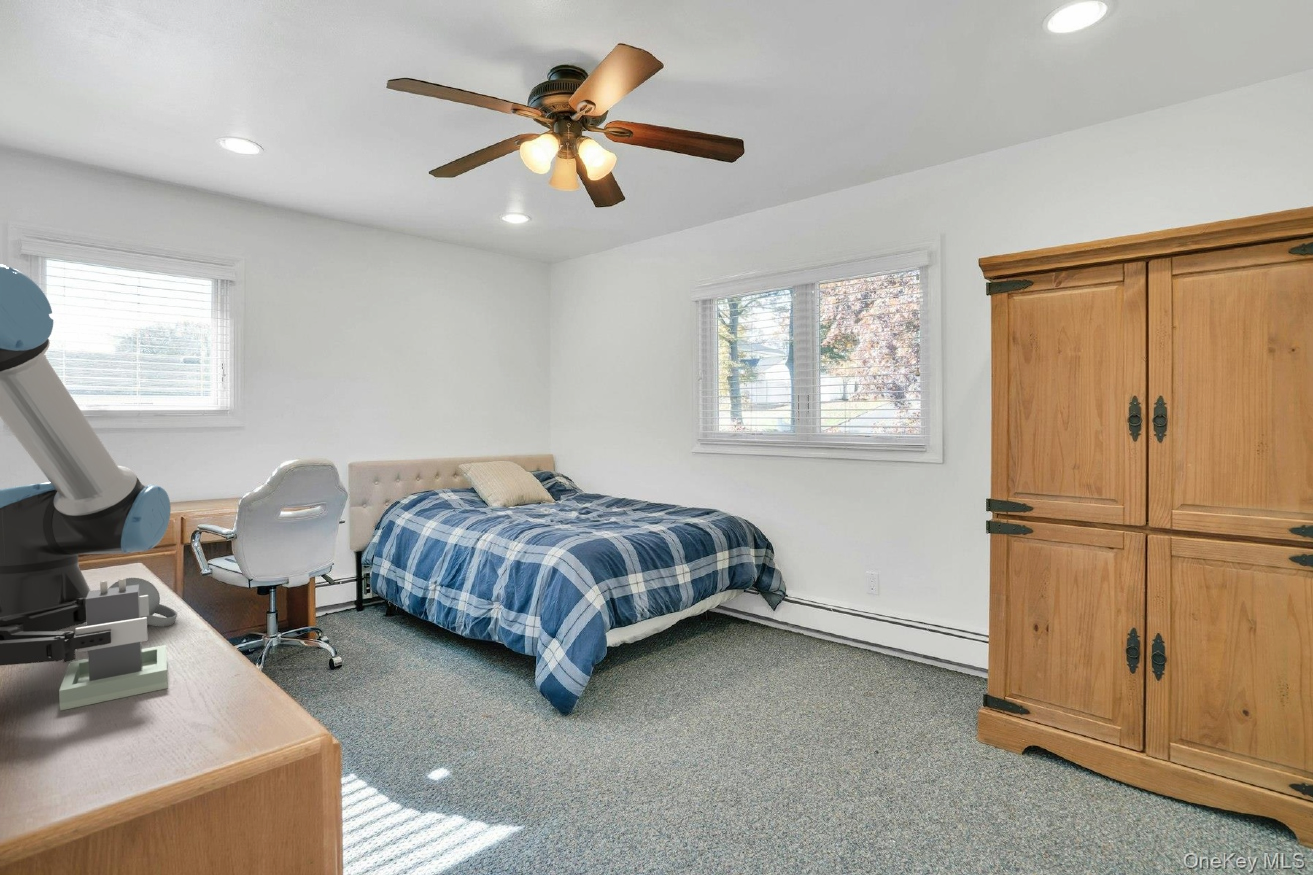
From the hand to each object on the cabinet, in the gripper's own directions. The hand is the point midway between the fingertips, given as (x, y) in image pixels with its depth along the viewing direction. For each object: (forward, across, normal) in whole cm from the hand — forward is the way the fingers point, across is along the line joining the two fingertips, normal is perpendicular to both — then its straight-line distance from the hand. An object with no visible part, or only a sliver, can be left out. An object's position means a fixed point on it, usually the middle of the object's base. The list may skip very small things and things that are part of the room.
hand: (148, 615), depth 86 cm
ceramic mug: (-2, -29, -8) cm, 30 cm away
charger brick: (-3, 0, -7) cm, 8 cm away
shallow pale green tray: (-3, 0, -8) cm, 9 cm away
